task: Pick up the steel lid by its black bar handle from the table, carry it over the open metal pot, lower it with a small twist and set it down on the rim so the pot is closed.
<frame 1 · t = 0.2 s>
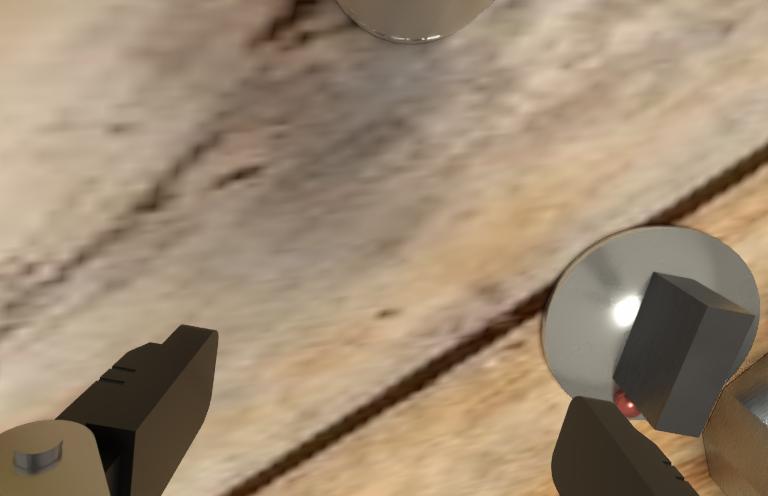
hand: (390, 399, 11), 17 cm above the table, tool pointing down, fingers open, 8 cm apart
lid: (641, 321, 30), on the table
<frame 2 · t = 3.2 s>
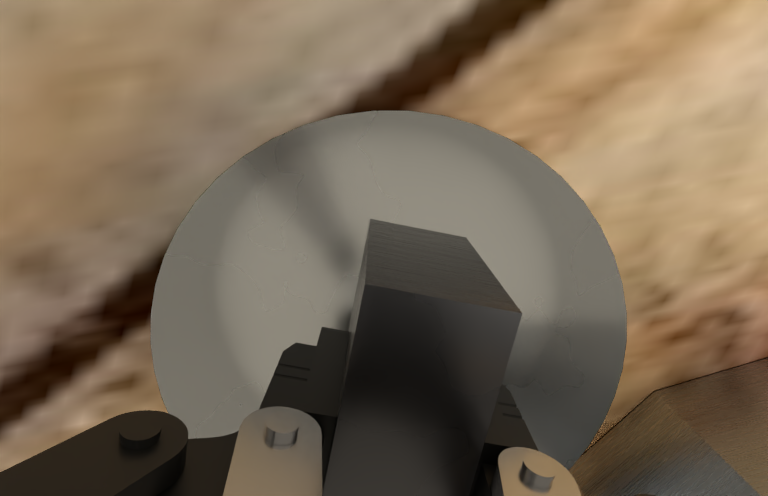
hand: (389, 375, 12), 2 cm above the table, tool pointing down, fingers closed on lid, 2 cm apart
lid: (388, 336, 14), on the table, touching gripper
when the fingers open (12 cm above the table, at t = 7.0 s): lid stays where it is, resting on pot.
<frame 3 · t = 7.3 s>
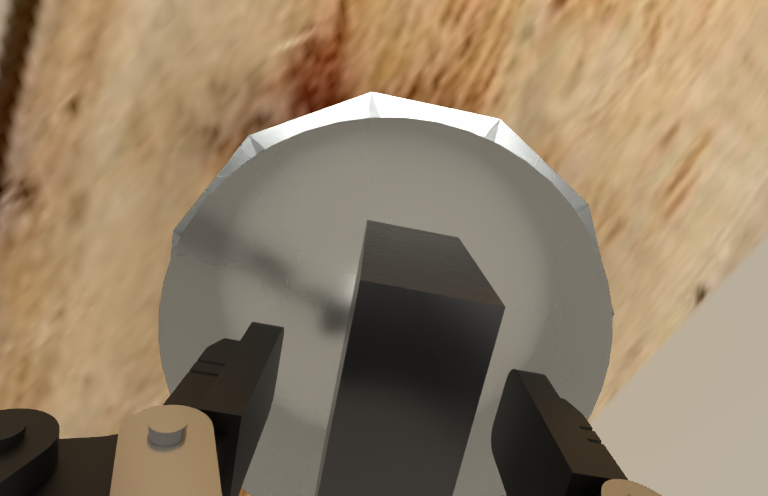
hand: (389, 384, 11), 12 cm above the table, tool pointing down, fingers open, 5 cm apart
pot: (384, 249, 23), on the table
lid: (385, 332, 14), point 9 cm above the table, touching pot
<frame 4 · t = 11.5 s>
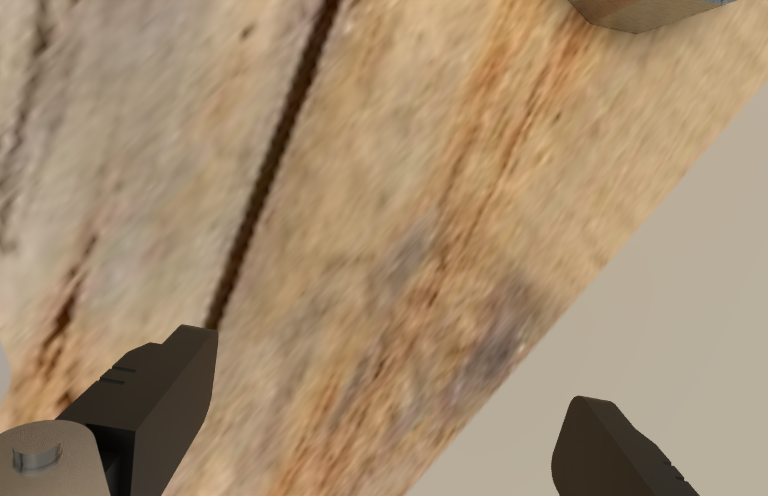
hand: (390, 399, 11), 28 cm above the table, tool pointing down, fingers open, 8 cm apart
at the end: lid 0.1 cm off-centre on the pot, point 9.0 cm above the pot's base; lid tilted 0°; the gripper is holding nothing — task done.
